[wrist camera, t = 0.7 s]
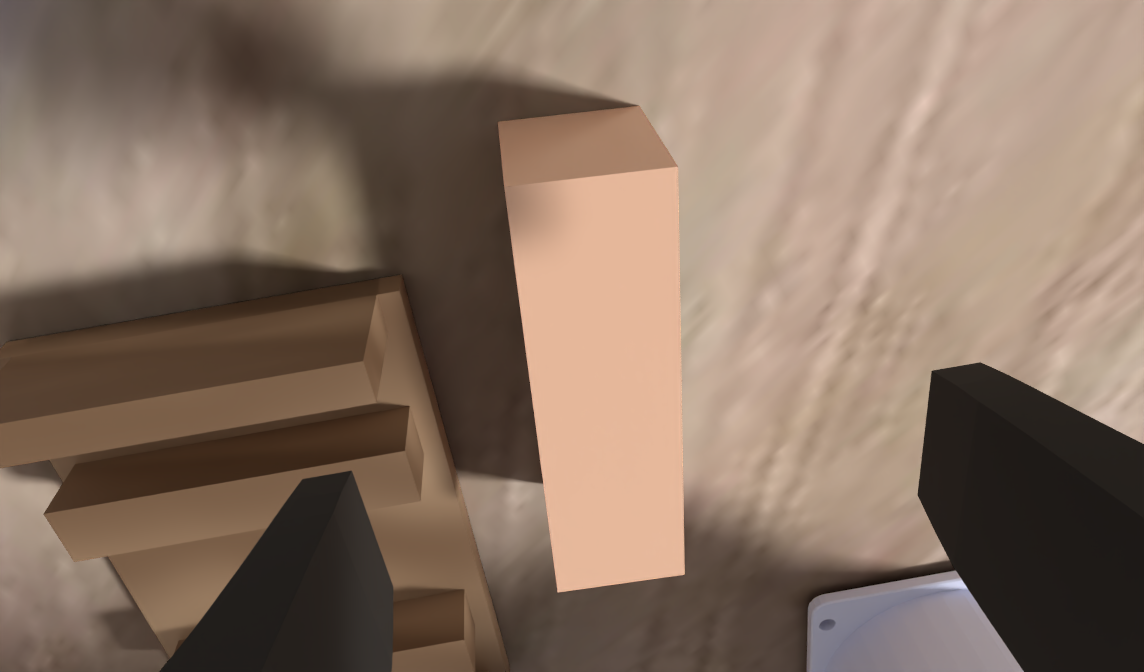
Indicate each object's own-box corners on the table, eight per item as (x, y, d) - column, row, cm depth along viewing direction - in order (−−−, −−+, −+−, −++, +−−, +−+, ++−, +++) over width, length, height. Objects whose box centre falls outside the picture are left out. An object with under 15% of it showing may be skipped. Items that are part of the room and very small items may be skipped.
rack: (509, 665, 26) (514, 772, 23) (225, 716, 26) (194, 830, 23) (401, 274, 19) (389, 356, 16) (6, 341, 19) (-82, 437, 16)
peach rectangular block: (652, 464, 23) (685, 574, 19) (544, 479, 23) (557, 592, 19) (637, 102, 18) (677, 166, 14) (497, 119, 18) (503, 186, 14)
